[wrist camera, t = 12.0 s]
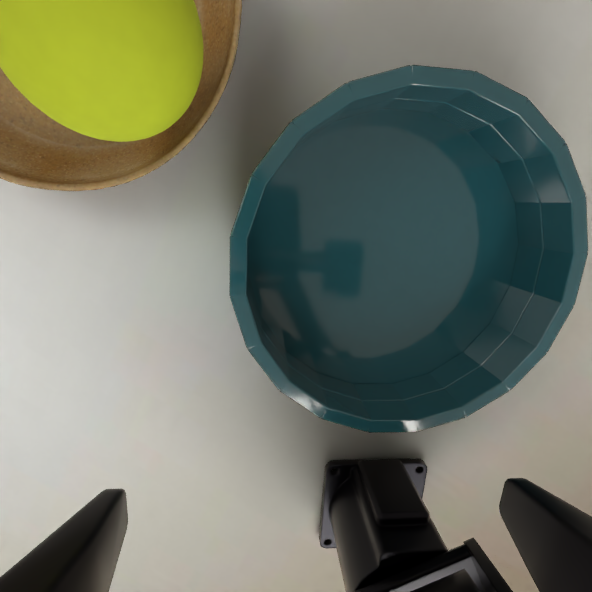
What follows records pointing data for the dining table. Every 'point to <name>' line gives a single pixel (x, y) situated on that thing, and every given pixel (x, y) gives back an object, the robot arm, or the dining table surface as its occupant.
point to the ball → (104, 62)
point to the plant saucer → (109, 154)
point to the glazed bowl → (408, 249)
